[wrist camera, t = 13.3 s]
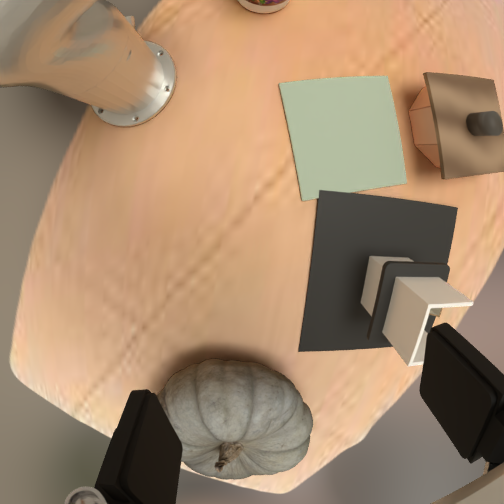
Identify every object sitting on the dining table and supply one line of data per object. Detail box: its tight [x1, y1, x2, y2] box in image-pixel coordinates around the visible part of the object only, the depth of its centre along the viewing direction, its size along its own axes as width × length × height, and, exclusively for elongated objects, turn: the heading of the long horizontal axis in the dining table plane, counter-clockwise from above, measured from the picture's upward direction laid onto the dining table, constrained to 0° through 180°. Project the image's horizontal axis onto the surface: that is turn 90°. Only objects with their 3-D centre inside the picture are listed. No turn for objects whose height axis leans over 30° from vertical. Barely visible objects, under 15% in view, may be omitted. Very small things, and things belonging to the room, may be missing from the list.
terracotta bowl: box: [409, 87, 440, 168], centre depth 35 cm, size 13×13×7 cm
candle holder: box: [298, 190, 473, 366], centre depth 37 cm, size 25×24×16 cm
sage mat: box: [279, 76, 407, 201], centre depth 38 cm, size 16×16×1 cm
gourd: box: [157, 359, 313, 479], centre depth 42 cm, size 25×25×17 cm
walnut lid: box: [423, 72, 504, 179], centre depth 29 cm, size 14×14×5 cm
